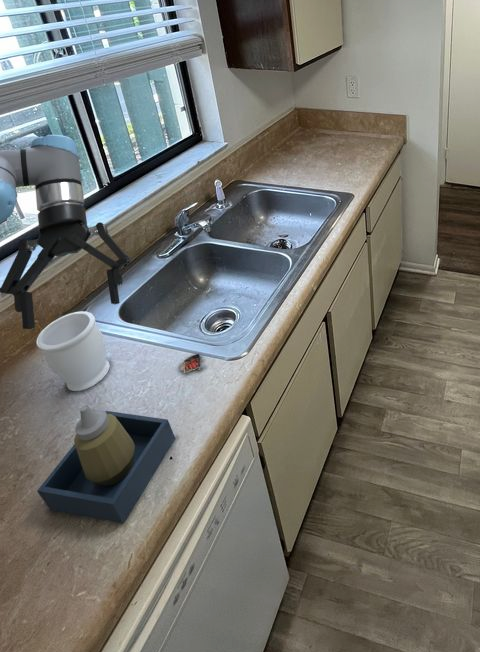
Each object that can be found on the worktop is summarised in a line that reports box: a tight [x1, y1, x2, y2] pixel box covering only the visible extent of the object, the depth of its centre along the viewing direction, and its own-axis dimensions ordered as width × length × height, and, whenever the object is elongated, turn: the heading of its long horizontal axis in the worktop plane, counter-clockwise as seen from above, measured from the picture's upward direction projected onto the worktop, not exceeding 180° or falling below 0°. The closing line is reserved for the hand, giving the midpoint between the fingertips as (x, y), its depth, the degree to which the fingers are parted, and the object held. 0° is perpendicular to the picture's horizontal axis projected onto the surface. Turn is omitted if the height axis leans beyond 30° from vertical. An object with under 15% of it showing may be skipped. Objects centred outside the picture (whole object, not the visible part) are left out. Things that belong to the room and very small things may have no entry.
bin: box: [36, 410, 176, 525], centre depth 81 cm, size 15×15×6 cm
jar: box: [36, 310, 111, 392], centre depth 98 cm, size 11×10×15 cm
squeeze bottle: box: [73, 404, 135, 486], centre depth 79 cm, size 8×8×18 cm
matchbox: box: [179, 353, 202, 374], centre depth 103 cm, size 5×5×1 cm
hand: (73, 315), depth 82 cm, fingers open, 13 cm apart
